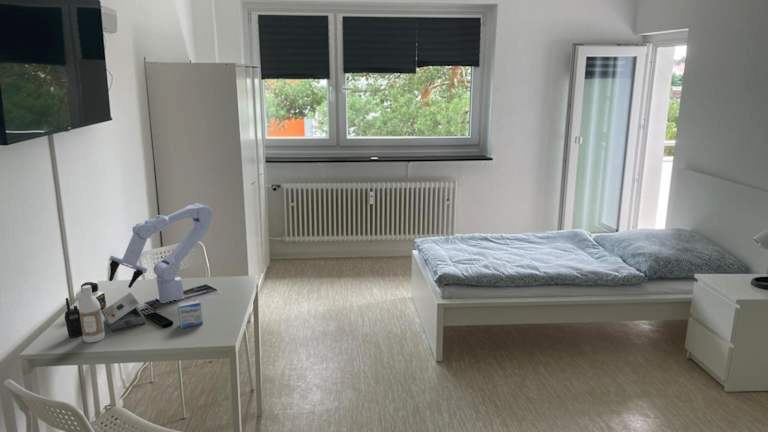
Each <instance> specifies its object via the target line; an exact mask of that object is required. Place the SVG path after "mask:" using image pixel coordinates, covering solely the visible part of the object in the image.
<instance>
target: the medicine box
mask: <svg viewBox="0 0 768 432" xmlns="http://www.w3.org/2000/svg"><path fill="white" fill-rule="evenodd" d="M176 305H177V313H178V319H179V321H178V322H179V325H180V328H181V329H186V328H191V327H196V326H200V325H203V324H204V322H203V312H202V303H201V302H200V300H199V299H195V300H189V301H184V302H180V303H177V304H176Z"/></svg>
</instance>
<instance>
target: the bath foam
mask: <svg viewBox="0 0 768 432" xmlns="http://www.w3.org/2000/svg"><path fill="white" fill-rule="evenodd" d="M82 292H83V298H82V300H81V302H80V305H78V309H79V314H80V320H81V326H82V332H83V335H82V337H83V338H82V339H83V342H85V343H89V344H90V343H96V342H100V341H102V340H103V339H104V338H105V337H106V333H105V332H106V331H105V327H104V321H103V320H104V319H103V314H102V311H101V306H100V303H99V302H98V300H97V299H96V298H95V297H94V296H93V295H92V289H91V286H90V285H86V286H83V287H82V290H81V293H82Z"/></svg>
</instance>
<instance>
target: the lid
mask: <svg viewBox="0 0 768 432" xmlns="http://www.w3.org/2000/svg"><path fill="white" fill-rule="evenodd" d="M140 305H141V304H140V303H139V301H138V300H137V299H136V298H135V296H134V295H133V294H132V292H128V293H127V294H125V295H124V296H122V297H121V298H119V299H118V300H116V301H115V302H113V303H112V304H111V305H110V306H107V308H106V309H104V310H103V311H101V312H102V317H103V318H104V317H105V319H106V321H107V323H108V324H109V325H111V324H112V323H113V322H115V321H116V320H118V319H119V318H121V317H122V316H124V315H125V314H126V313H128V312H129V311H131V310H132V309H134V308H135V307H138V306H140ZM105 319H104V320H105Z"/></svg>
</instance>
